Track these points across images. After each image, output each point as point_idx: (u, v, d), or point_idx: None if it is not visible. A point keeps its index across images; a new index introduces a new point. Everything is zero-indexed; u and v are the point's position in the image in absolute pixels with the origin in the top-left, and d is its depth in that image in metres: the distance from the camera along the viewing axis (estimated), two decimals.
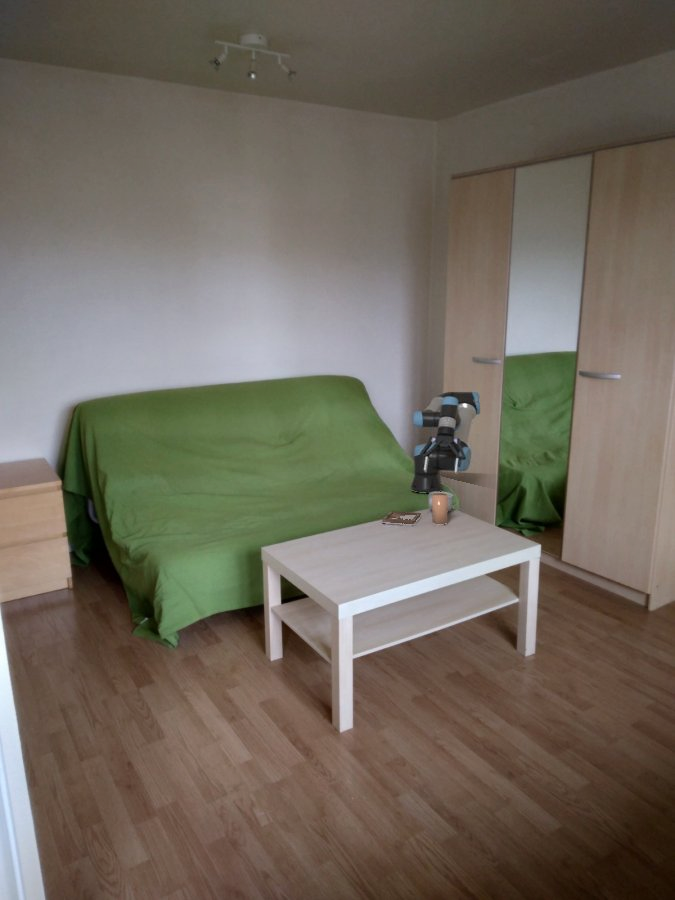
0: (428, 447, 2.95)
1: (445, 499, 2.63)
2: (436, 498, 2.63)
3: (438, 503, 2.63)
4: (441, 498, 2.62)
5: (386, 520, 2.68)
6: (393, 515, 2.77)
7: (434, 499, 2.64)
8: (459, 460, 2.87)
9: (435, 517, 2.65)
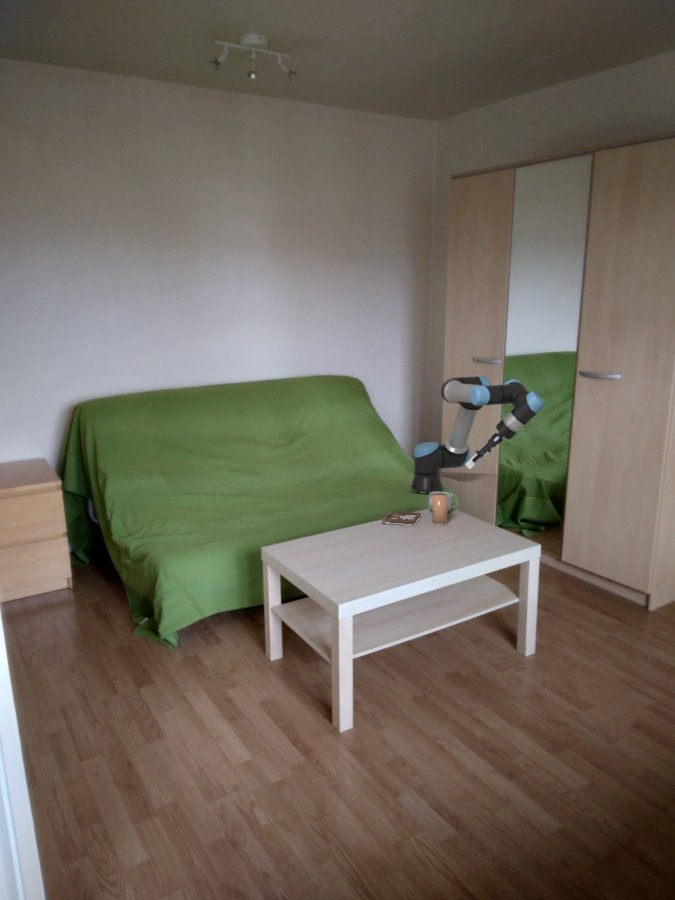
0: None
1: (445, 499, 2.63)
2: (436, 498, 2.63)
3: (438, 503, 2.63)
4: (441, 498, 2.62)
5: (386, 520, 2.68)
6: (393, 515, 2.77)
7: (434, 499, 2.64)
8: None
9: (435, 517, 2.65)
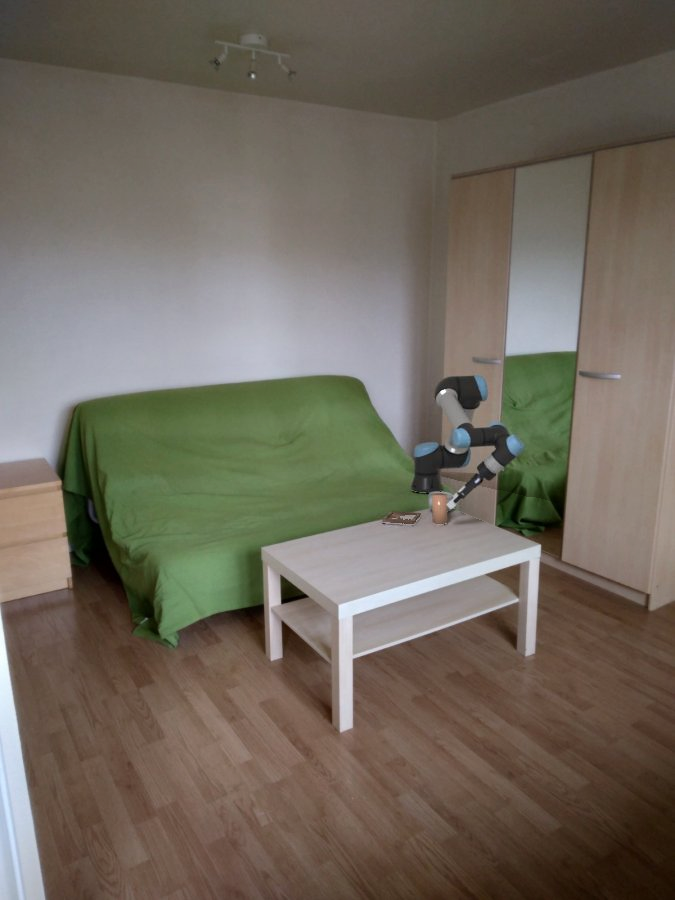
0: None
1: (445, 499, 2.63)
2: (436, 498, 2.63)
3: (438, 503, 2.63)
4: (441, 498, 2.62)
5: (386, 520, 2.68)
6: (393, 515, 2.77)
7: (434, 499, 2.64)
8: None
9: (435, 517, 2.65)
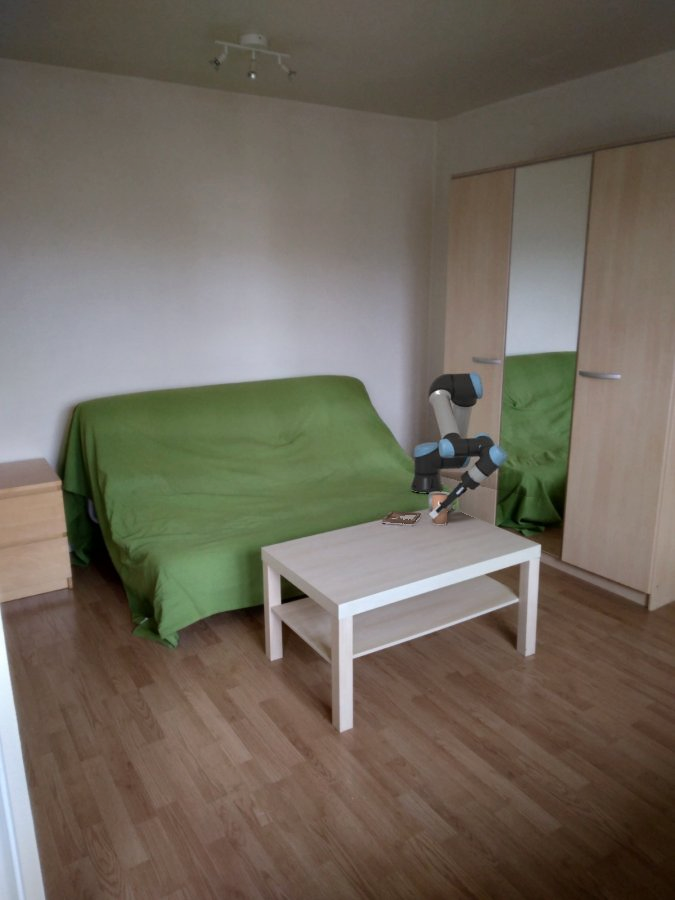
0: None
1: None
2: (436, 498, 2.63)
3: (437, 503, 2.63)
4: (441, 498, 2.62)
5: (386, 520, 2.68)
6: (393, 515, 2.77)
7: (434, 499, 2.64)
8: None
9: (435, 517, 2.65)
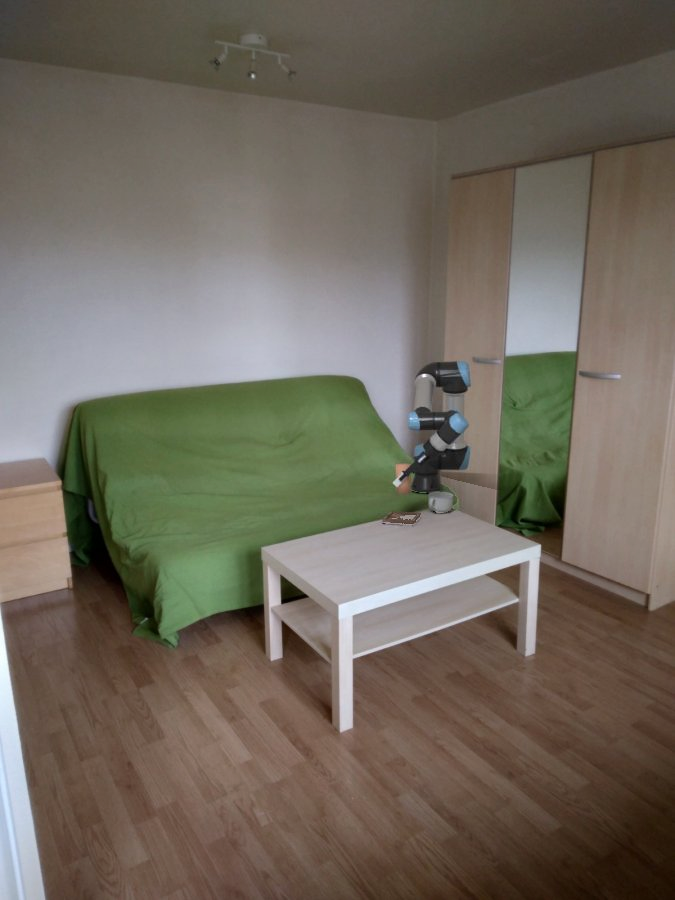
0: None
1: None
2: (399, 467, 2.66)
3: (401, 472, 2.66)
4: (404, 467, 2.65)
5: (386, 520, 2.68)
6: (393, 515, 2.77)
7: (397, 468, 2.67)
8: None
9: (398, 486, 2.68)
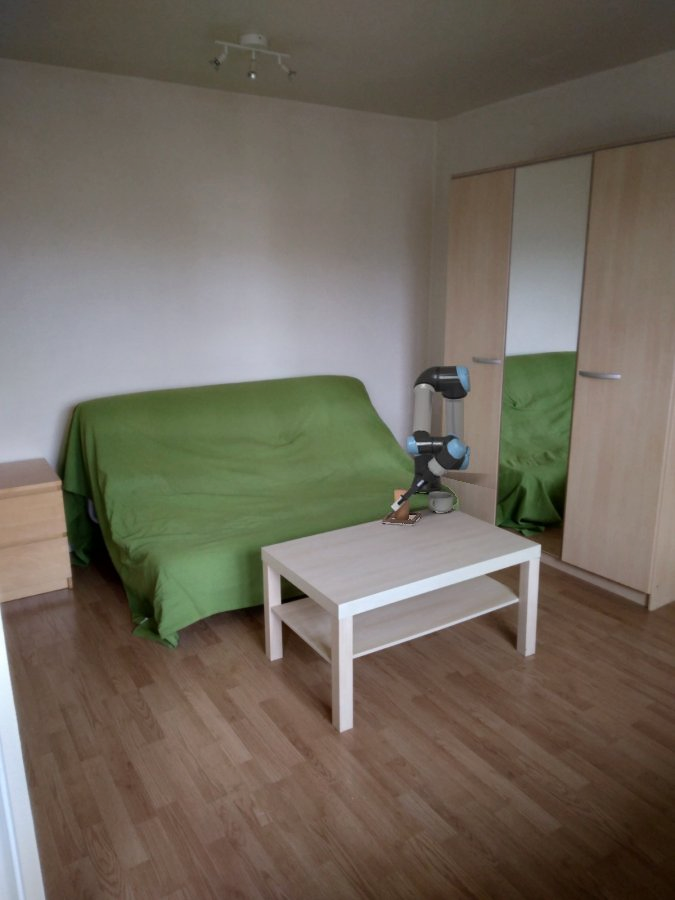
0: None
1: None
2: (398, 493, 2.68)
3: None
4: (402, 493, 2.68)
5: (386, 520, 2.68)
6: (393, 515, 2.77)
7: (396, 494, 2.69)
8: None
9: (396, 512, 2.70)
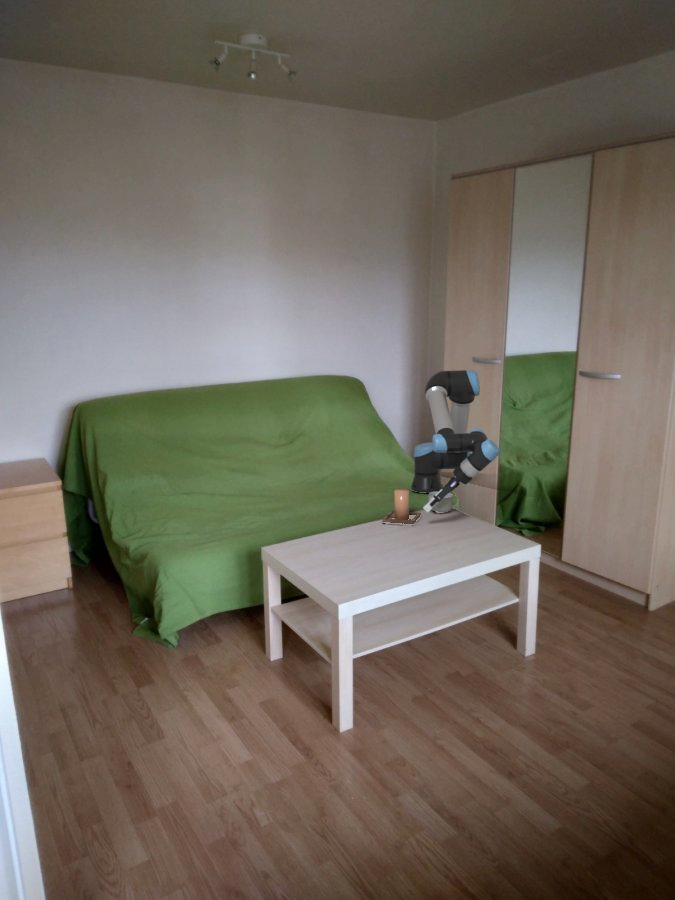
0: None
1: (407, 494, 2.69)
2: (398, 493, 2.68)
3: (399, 498, 2.68)
4: (402, 493, 2.68)
5: (386, 520, 2.68)
6: (393, 515, 2.77)
7: (396, 494, 2.69)
8: None
9: (396, 512, 2.70)
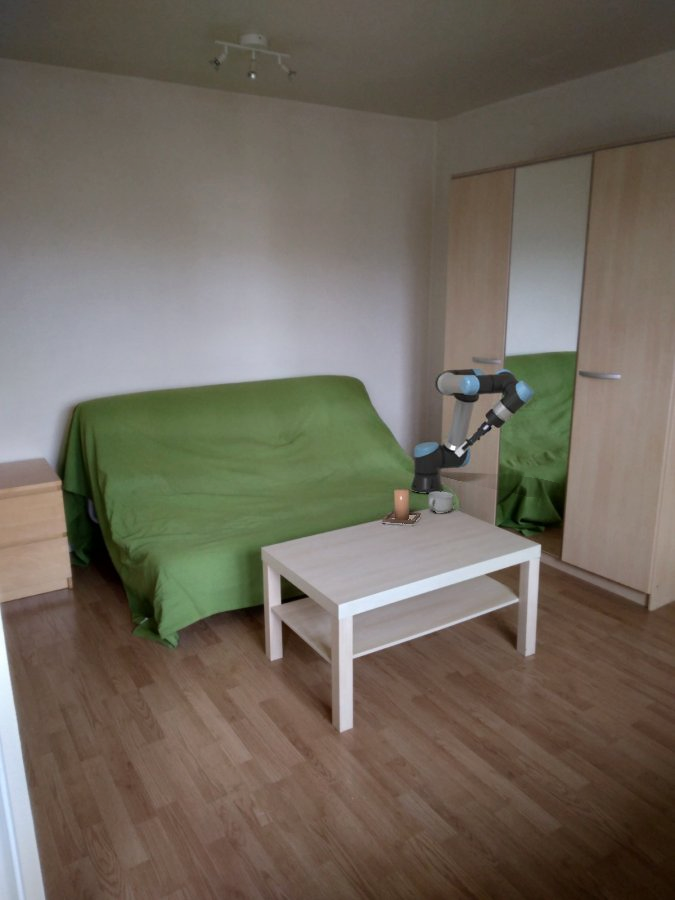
0: None
1: (406, 494, 2.69)
2: (397, 493, 2.68)
3: (399, 498, 2.68)
4: (402, 493, 2.68)
5: (386, 520, 2.68)
6: (393, 515, 2.77)
7: (396, 494, 2.69)
8: None
9: (396, 512, 2.70)
